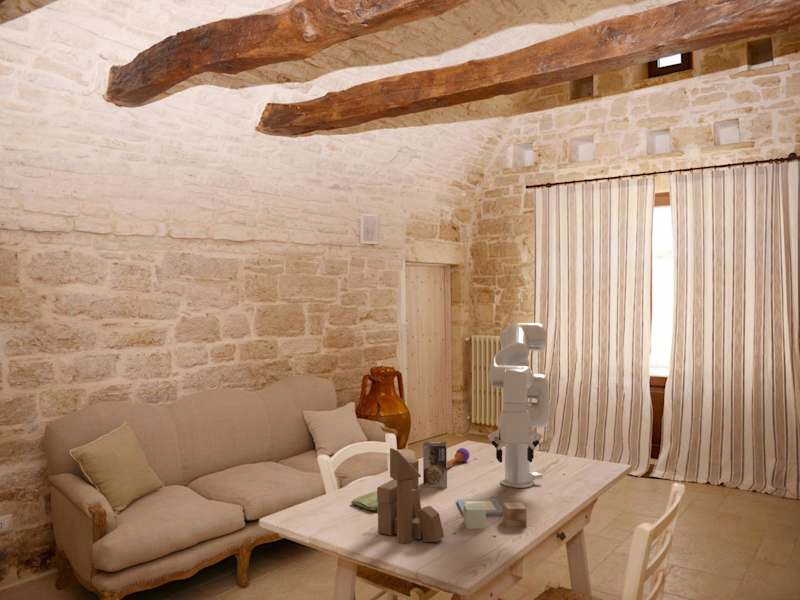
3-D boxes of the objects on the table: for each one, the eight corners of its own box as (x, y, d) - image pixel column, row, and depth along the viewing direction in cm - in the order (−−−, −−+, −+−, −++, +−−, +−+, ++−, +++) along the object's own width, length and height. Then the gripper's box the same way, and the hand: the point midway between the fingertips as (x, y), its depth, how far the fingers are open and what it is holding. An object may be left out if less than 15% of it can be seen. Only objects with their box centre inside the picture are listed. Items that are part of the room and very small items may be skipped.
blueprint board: (495, 501, 226) (495, 498, 226) (505, 515, 212) (505, 512, 212) (456, 502, 225) (456, 499, 225) (463, 516, 211) (463, 513, 211)
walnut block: (521, 520, 207) (521, 502, 207) (526, 527, 201) (526, 508, 201) (503, 521, 207) (503, 502, 206) (507, 528, 201) (507, 509, 200)
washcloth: (348, 505, 222) (349, 496, 222) (385, 494, 234) (385, 485, 234) (374, 515, 213) (374, 505, 213) (411, 502, 225) (411, 493, 225)
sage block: (481, 521, 206) (481, 503, 206) (485, 528, 200) (485, 509, 200) (463, 522, 206) (463, 503, 205) (466, 529, 200) (466, 510, 199)
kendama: (436, 460, 266) (458, 446, 283) (439, 474, 266) (461, 459, 282) (448, 459, 263) (470, 446, 279) (451, 473, 262) (473, 459, 279)
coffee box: (447, 483, 247) (447, 441, 247) (446, 488, 240) (447, 445, 240) (423, 482, 248) (423, 441, 248) (422, 487, 241) (422, 445, 241)
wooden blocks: (427, 553, 181) (427, 455, 180) (368, 539, 191) (368, 446, 190) (462, 526, 202) (462, 438, 202) (407, 515, 212) (407, 431, 211)
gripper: (538, 405, 208) (538, 457, 208) (485, 405, 206) (485, 458, 206) (545, 409, 200) (545, 463, 200) (490, 409, 199) (490, 464, 199)
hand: (514, 461), depth 203 cm, fingers open, 9 cm apart
